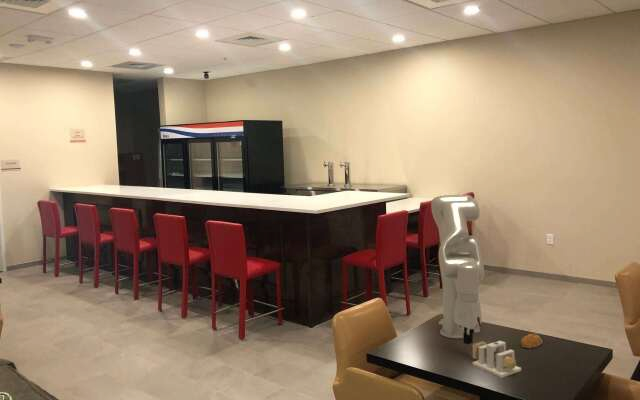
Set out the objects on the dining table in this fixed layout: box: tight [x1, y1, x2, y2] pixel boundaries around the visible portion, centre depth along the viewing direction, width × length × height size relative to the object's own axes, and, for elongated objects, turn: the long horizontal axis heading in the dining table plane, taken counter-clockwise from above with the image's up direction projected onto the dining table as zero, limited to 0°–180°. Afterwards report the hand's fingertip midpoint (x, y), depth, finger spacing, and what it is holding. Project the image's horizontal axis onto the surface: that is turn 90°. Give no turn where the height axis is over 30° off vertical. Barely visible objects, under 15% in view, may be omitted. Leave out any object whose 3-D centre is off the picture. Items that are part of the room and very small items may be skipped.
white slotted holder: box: [471, 340, 522, 379], centre depth 181 cm, size 13×10×9 cm
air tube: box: [472, 341, 517, 369], centre depth 182 cm, size 16×5×5 cm, turn 30°
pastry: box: [520, 333, 543, 349], centre depth 201 cm, size 9×7×4 cm
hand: (468, 343), depth 193 cm, fingers closed
